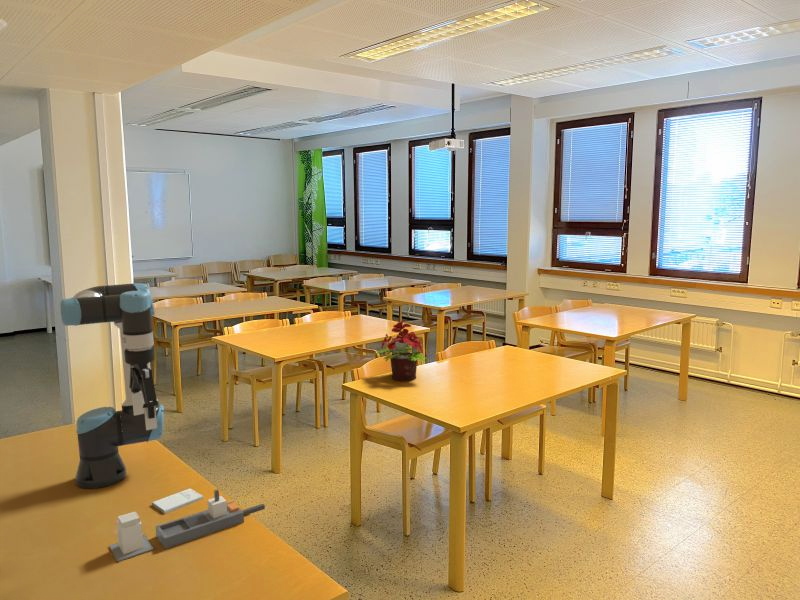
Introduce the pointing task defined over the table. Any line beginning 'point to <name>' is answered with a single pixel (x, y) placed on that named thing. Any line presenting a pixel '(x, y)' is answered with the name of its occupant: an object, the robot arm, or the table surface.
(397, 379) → the potted plant
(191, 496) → the external hard drive
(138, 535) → the block
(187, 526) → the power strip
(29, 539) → the table surface
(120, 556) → the mat
